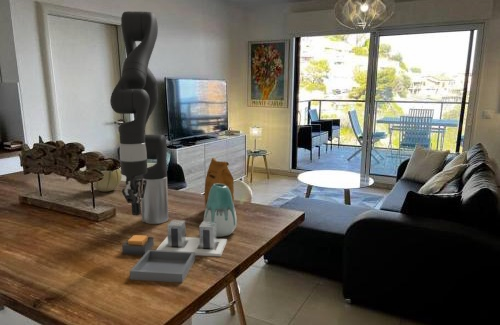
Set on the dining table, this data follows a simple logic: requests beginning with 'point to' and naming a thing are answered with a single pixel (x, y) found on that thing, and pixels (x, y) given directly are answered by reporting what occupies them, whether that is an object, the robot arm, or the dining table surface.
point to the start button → (138, 240)
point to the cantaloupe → (109, 181)
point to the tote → (163, 266)
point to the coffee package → (218, 177)
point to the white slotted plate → (195, 247)
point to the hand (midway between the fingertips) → (136, 214)
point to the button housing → (138, 247)
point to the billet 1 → (176, 234)
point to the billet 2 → (207, 235)
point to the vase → (221, 210)
